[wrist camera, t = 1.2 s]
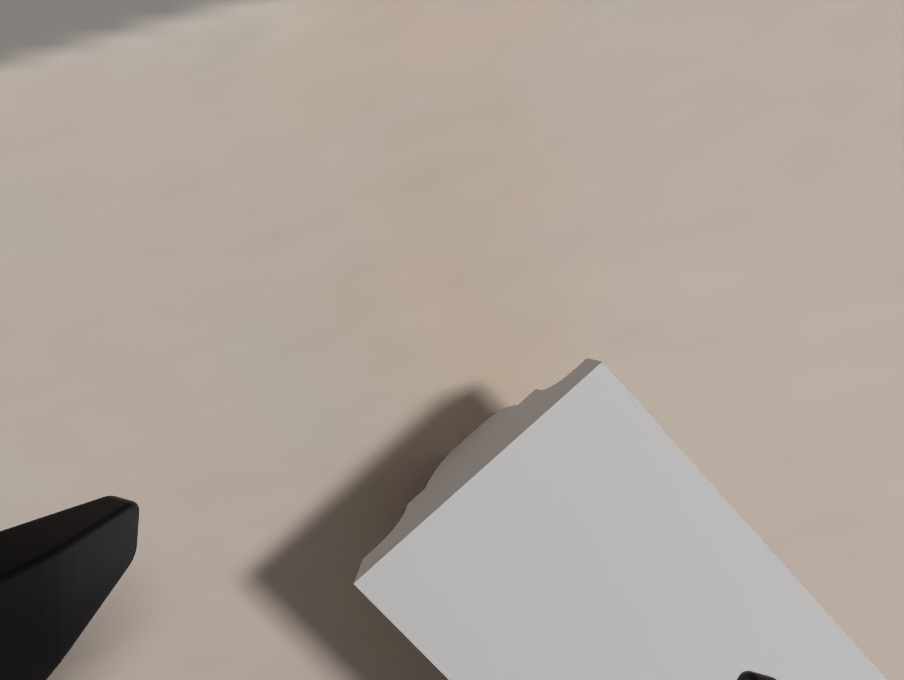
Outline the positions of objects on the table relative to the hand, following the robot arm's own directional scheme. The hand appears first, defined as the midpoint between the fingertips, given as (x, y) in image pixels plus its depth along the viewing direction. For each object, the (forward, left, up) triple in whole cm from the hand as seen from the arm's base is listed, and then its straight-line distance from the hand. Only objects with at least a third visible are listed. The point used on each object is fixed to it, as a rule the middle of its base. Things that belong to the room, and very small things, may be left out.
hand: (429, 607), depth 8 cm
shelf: (-17, -1, -16) cm, 24 cm away
